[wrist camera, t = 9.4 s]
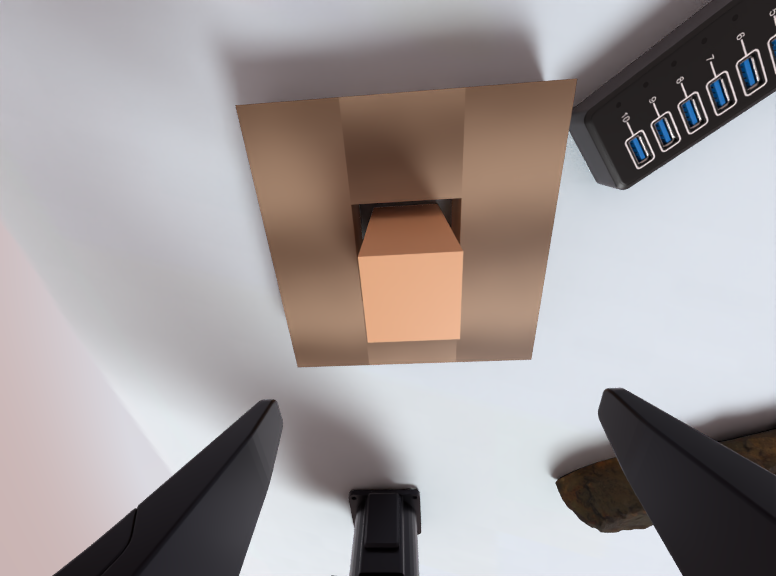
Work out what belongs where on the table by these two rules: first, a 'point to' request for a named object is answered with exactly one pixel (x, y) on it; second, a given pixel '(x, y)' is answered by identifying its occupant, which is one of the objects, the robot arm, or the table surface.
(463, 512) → the table surface
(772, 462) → the brown long rough piece
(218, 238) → the table surface
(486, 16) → the table surface
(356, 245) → the socket block
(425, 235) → the peg
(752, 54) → the multiport hub
